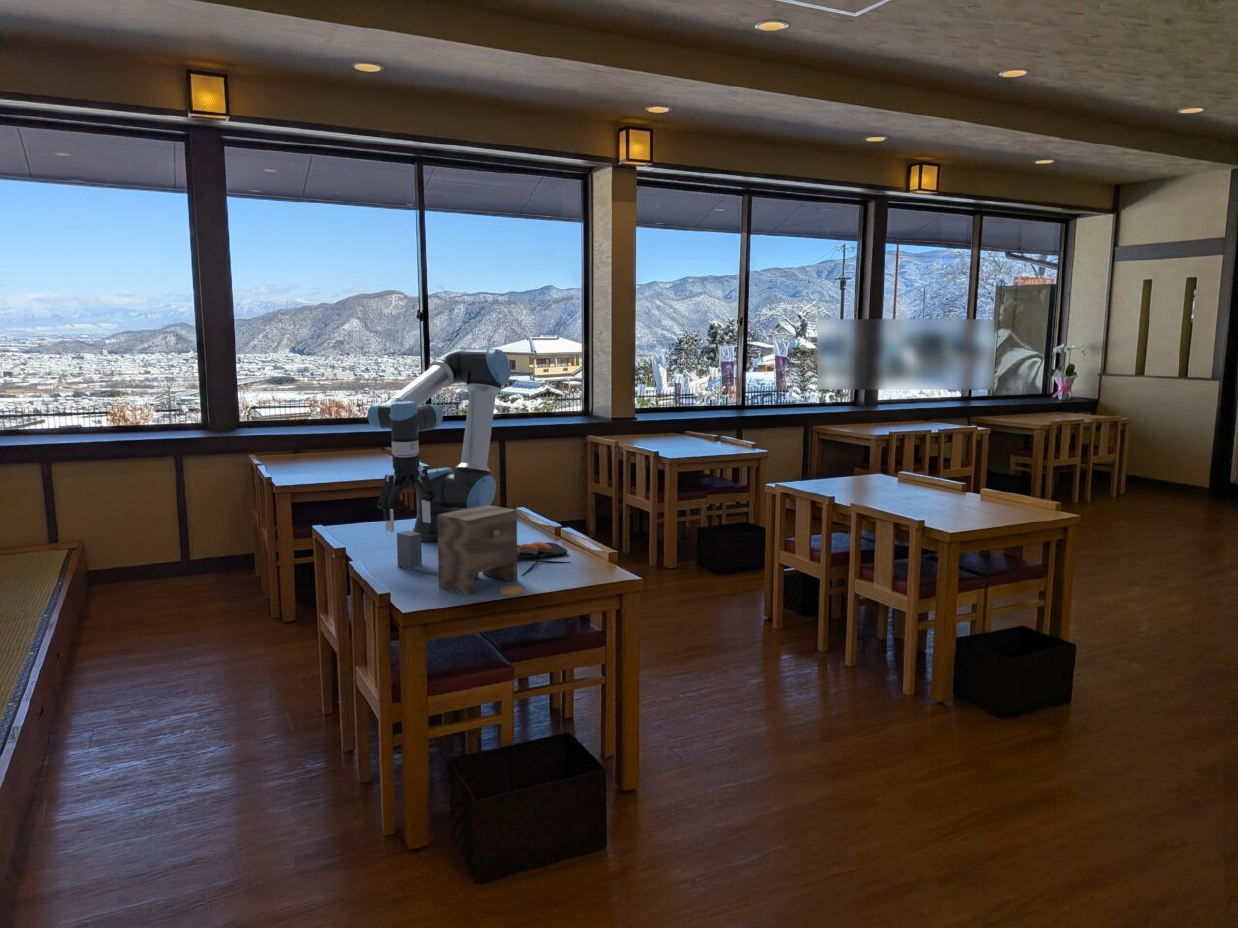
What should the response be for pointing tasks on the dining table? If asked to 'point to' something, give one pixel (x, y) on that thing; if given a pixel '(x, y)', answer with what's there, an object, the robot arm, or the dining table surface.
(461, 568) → the cabinet
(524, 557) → the sushi plate
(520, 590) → the puck
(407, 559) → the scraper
